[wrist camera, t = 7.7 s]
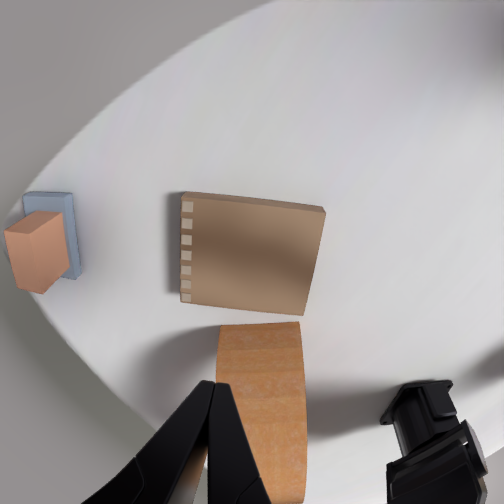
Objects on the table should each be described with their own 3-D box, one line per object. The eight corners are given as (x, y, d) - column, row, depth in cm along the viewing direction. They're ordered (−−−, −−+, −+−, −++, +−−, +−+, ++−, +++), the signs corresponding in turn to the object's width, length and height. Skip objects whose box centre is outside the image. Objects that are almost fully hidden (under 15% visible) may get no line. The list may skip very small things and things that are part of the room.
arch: (301, 320, 22) (318, 442, 13) (295, 449, 30) (298, 523, 21) (220, 323, 22) (199, 443, 13) (245, 450, 31) (241, 524, 22)
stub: (81, 272, 20) (49, 308, 16) (42, 265, 20) (9, 297, 16) (72, 193, 17) (30, 217, 13) (30, 191, 17) (-12, 213, 13)
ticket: (301, 305, 21) (303, 316, 20) (184, 292, 21) (180, 303, 19) (322, 206, 18) (326, 213, 17) (186, 191, 18) (180, 197, 16)
